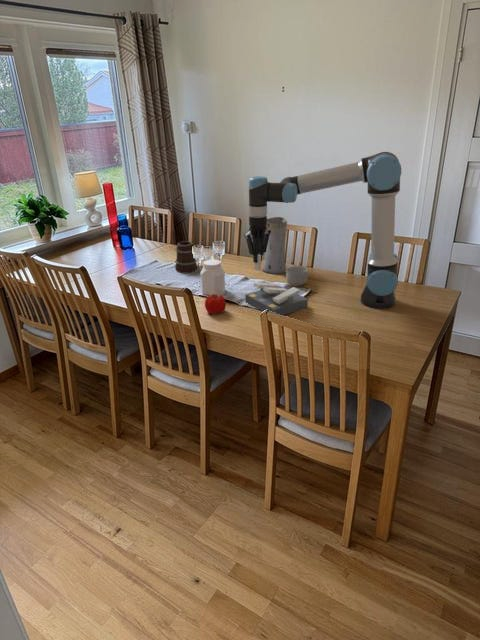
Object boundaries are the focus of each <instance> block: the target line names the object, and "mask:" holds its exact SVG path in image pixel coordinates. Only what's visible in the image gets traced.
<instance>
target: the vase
mask: <svg viewBox="0 0 480 640" xmlns="http://www.w3.org/2000/svg"><path fill="white" fill-rule="evenodd" d="M287 224H288V221H287V219H285V218H284V217H282V216H281V217H280V216H275V217H269V218H267V224H266V227H267V229H268V230H271V233H270V235H269V240H268V245H267V250H266V252H265V259H264V264H263V267H262V268H261V270H262V271H263V273H267V274H272V275H282V274H284V273H285V274H286V269H287V266H286V264H287V263H286V235H287V229H288V227H287Z"/></svg>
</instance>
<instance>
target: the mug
mask: <svg viewBox="0 0 480 640" xmlns="http://www.w3.org/2000/svg"><path fill="white" fill-rule="evenodd" d="M194 245H195V244H194V243H193V242H192V241H188V240H184V241H183V240H182V241H179V242H178V243H177V244H176V248H175V249H174V250H175V252H176V259H175V261H174V262H175V266H174V268H175V269H176V270H177V271H176V272H178V271H180V272H179V273H182V272H188V273H193V272H196V271H197V270H198V264H197V259H196V258H195V259H196V260H195V259H194V258H193V254H192V246H194ZM195 270H196V271H195ZM192 271H193V272H192Z"/></svg>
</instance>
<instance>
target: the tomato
mask: <svg viewBox="0 0 480 640" xmlns="http://www.w3.org/2000/svg"><path fill="white" fill-rule="evenodd" d="M226 306H227V301H226V299H225V297H224V295H223V294H222V295H219V296H217V295H216V294H212V295H208V296H207V297H206V298H205V300H204V309H206V311H207V312H208V313H209V314H210V315H211V314H212V315H216V314H221V313H224V312H225V310H226Z"/></svg>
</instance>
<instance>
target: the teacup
mask: <svg viewBox="0 0 480 640" xmlns="http://www.w3.org/2000/svg"><path fill="white" fill-rule="evenodd" d="M308 271H309V269H308V268H307V267H305V266H301V265H296V264H295V265H293V266H288V267H286V272H285V277H286V278H285V279H286V282H287V283H288V284H289V285H291V286H292V287H302V286H304V285H305V284H306V283H307V282H308Z"/></svg>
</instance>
